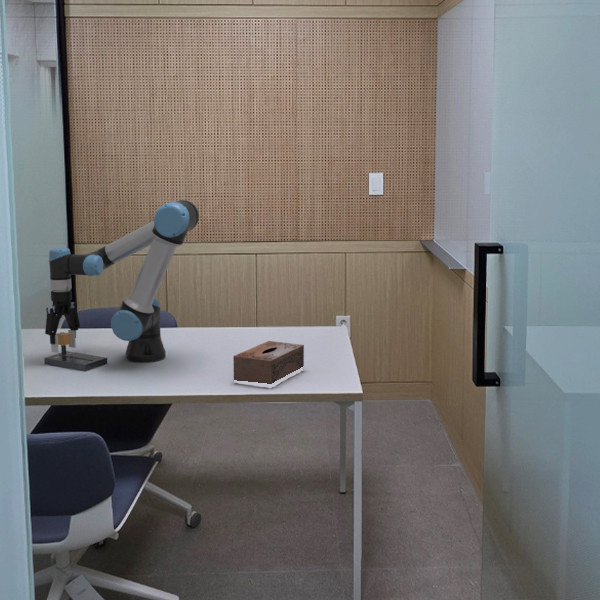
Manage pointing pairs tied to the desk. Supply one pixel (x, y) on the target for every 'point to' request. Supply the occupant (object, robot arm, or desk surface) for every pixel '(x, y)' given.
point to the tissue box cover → (268, 362)
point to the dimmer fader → (63, 341)
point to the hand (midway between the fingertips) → (63, 349)
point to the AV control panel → (76, 361)
